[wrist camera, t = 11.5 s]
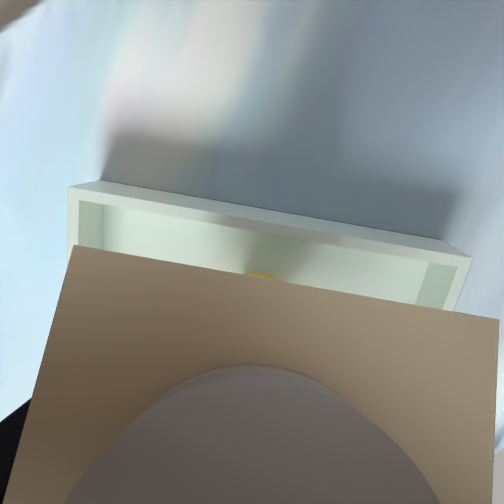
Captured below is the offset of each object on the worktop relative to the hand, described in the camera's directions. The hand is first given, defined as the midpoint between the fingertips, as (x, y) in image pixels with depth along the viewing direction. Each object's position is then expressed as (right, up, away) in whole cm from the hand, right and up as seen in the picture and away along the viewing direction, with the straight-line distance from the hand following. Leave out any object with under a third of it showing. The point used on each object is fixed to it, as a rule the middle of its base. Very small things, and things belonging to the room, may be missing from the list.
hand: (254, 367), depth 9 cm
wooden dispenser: (0, -3, +6) cm, 7 cm away
